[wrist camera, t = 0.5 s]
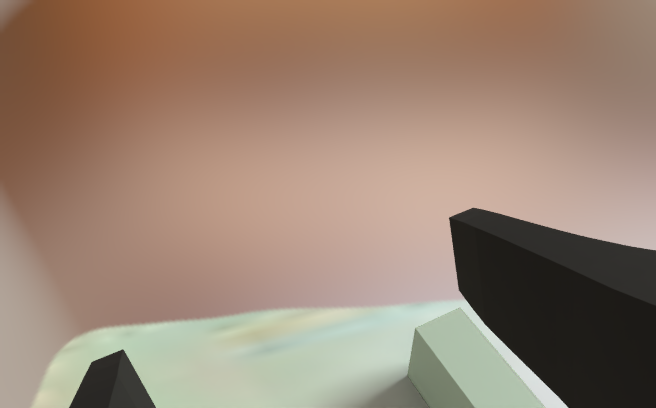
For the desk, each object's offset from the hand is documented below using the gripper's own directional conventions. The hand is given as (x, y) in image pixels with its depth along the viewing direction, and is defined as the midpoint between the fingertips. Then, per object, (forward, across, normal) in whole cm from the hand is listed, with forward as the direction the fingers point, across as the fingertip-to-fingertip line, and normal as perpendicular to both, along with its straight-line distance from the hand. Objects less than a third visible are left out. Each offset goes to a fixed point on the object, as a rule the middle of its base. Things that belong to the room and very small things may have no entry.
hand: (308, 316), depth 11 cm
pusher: (+9, -8, +20) cm, 23 cm away
